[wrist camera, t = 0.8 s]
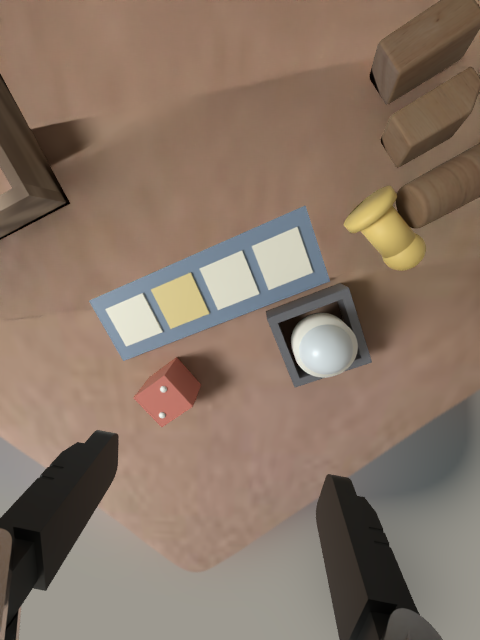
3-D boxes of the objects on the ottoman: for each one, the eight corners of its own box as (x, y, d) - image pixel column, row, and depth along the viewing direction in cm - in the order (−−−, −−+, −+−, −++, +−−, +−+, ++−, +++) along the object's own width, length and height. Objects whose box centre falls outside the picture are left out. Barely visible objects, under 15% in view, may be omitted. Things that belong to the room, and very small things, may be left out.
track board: (303, 206, 25) (305, 205, 24) (327, 280, 27) (330, 281, 26) (93, 299, 29) (87, 301, 28) (126, 357, 31) (122, 361, 30)
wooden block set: (361, 28, 18) (526, -86, 16) (342, 123, 26) (448, 56, 24) (511, 260, 16) (722, 162, 14) (438, 283, 24) (562, 223, 22)
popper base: (339, 283, 27) (348, 287, 24) (361, 351, 29) (372, 362, 26) (266, 311, 28) (266, 318, 26) (291, 374, 30) (294, 387, 28)
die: (176, 356, 31) (164, 375, 26) (201, 384, 32) (192, 407, 27) (149, 376, 32) (132, 398, 27) (173, 403, 33) (161, 427, 28)
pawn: (337, 234, 24) (385, 288, 26) (383, 206, 20) (436, 271, 22) (352, 207, 26) (396, 258, 28) (396, 176, 22) (444, 238, 24)
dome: (338, 303, 26) (355, 316, 21) (354, 353, 27) (374, 376, 22) (282, 323, 26) (287, 340, 22) (301, 371, 28) (309, 397, 23)
